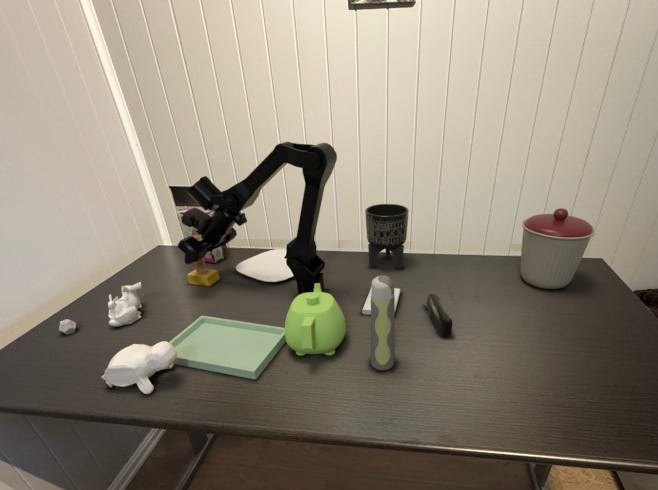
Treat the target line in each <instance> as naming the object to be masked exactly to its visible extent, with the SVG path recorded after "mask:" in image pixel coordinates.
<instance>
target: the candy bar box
mask: <svg viewBox="0 0 658 490" xmlns="http://www.w3.org/2000/svg"><path fill="white" fill-rule="evenodd" d="M190 209H191V208H183V209H180V210H178V211H176V212H175V213H176V215H177V219H178V222H179V225H180V229H181V232H182V237H183V239H184V238H186V237H188V236H192V235H197V236H198V237H199V241H201V240H202V237H201V235H199V234H197V233H196V230H197V229H195V228H193V227H188V226H186V225H184V224H183V223H182V219H181V217H182V216H183V214H184V213H185V212H186V211H188V210H190ZM200 210H201V211H203V212H205V213H207V214H208V215H209V216H212V215H213V213H214V210H212V211H211V210H210V209H208V210H207V211H206V210H204V209H200ZM223 251H224V250H223V245H222V246H220V247H218V248H216V249H214V250H212V251H210V252H207V254H206V255H205V256H204V260H205V263H211V264H217V263H218V262H220V261H222V260H224V259H225V255H224V252H223Z"/></svg>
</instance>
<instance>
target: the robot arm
mask: <svg viewBox="0 0 658 490" xmlns="http://www.w3.org/2000/svg"><path fill="white" fill-rule="evenodd" d="M337 160H338V154H337V152H336V149H335V148H334V147H333V146H332V145H331V144H330V143H328V142H319V143H317V144H309V143H297V142H291V141H284V142H280V143H278V144H276V145H275V146H274V148H273V149H272V150H271V152H270V153H269V154H268V155H267V156H266V157H265V158H264V159H263V160H261V162H260V163H259V164H258V165H257V166H256V167H255V168H254V169H253V170H252V171H251V172H250V173H249V174H248V175H247V177H245V178H244V179H242V180H241V181H239V182H238V183H236V184H233V185H232V186H230V187H229V188H228V189H225V190H222V191H221V190H220V189H219V188H218V187H217V186H216V185H215V184H214V183H213V182H212V181H211V180H210V178H209V177H208V176H207V175H205V176H202V177H200V178H199V179H198V181H196V182H195V183H193V185H192V186H190V187H189V188H188V190H187V194H188V195H189V196H190V197H191V198H192V199H193V200H194V201H195V202H196V203H197V204H198V205H199V206H200V207H201V208H202V209H199V208H197V207H192V208H189V209H190V210H188V211H186V212H185V213H184V214H183V216H182V217H181V219H182V223H183V224H184V225H186V226H188V227H193V228H195V229H197V230H196V233H197V234H199V235H201V237H202V240H201V241H198V240H196V239H195V238H194V237H193V236H188V237H186V238H184V237H183V238H182V239H181V240H179V242H178V243H177V248H178V249H179V250H180V251H181V252H182V253H183V254H184V264H186V265H187V266H188V265H190V264H191V265H192V264H194V262H197V261H199V260H201V259H202V258H204V256H205V255H206V254H207V252H210V251H212V250H214V249H216V248H218V247H220V246H222V247H223V246H224V245H227V244H228V243H230V242H231V241H233V240H234V239H236V237H237V235H238V232H237V230H236V229H235V228H234V227H235V225H237V226H239V227H241V226H243V225H244V224H246V223H247V222H248V219H247V216H246V213H245V212H241V211H243V210H245V209H247V208H249V207H252V206H253V205H254V203H255V202H256V200H257V199H258V198H259V196H260V194H261V191H262V189H263V188H264V187H265V186H266V185H267V184H268V183H269V182H270V181H271V180H272V179H273V178H274V177H275V176H276V175H277V174H278V173H279V172H280V171H281V170H283V169H284V168H285V166H286V165H288V164H289V165H290V166H294V167H296V168H301V171H302V176H303V180H304V190H303V191H304V192H303V195H302V202H301V208H300V214H299V219H298V226H297V231H296V237H294V238H293V239H291V241H289V242H288V243H286V248H285V249H286V256H285V257H284V258H285V259H286V258H287V259H286V264H287V266H288V267H289V268H290V270H291V271H292V274H293V276H294V277H293V278H294V280H295V282H296V288H297V293H298V295H300V294H303V293H309V292H314V285H315V283H320V286H321V290H322V292H324V293H327V292H328V289H327V288H325V280H324V273H323V272H322V271H323V270H324V269H325V267H326V262H325V261H324V260H323V259H322V258H321V257H320V256H319V255H318V254H317V243H316V240H315V238H316V232H317V226H318V222H319V218H320V217H319V216H320V213H321V212H320V211H321V206H322V201H323V196H324V191H325V187H326V185H327V183H328V181H329V179H330V177H331V175H332V174H333V171H334V169H335V166H336V163H337ZM201 210H206V211H207V210H209V211H213V215H212V216H209V215H208V214H207V213H205V212H203V211H201Z"/></svg>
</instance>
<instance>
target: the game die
mask: <svg viewBox="0 0 658 490" xmlns="http://www.w3.org/2000/svg"><path fill="white" fill-rule="evenodd" d="M76 327H77V322H75V321H73V320H72V319H68V318H66V319H63V320H60V321H59V326H58V332H61V333H63V334H65V335H71V334H74V333H75V332H76Z"/></svg>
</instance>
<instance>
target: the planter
mask: <svg viewBox="0 0 658 490" xmlns="http://www.w3.org/2000/svg"><path fill="white" fill-rule="evenodd" d="M409 212H410V211H409V208H408V207H406V206H404V205H402V204H396V203H379V204H374V205H370V206H368V207H366V209H365V210H364V214H365V227H366V228H365V229H366V240H367V242H368V244H367V250H368V264H369V268H370V269H374V268H375V266H376V265H375V264H376V261H377V258H378V256H379V254H380V253H381V252H382V251H383V250H385V259H387V260H389V259H391V253H392V255H393V256H394V259H395V262H396V269H397V270H402V269H403V265H404V264H403V263H404V250H405V249H404V248H405V245H404V244H405V243H406V242H407V237H408V236H407V235H408V223H409Z"/></svg>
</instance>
